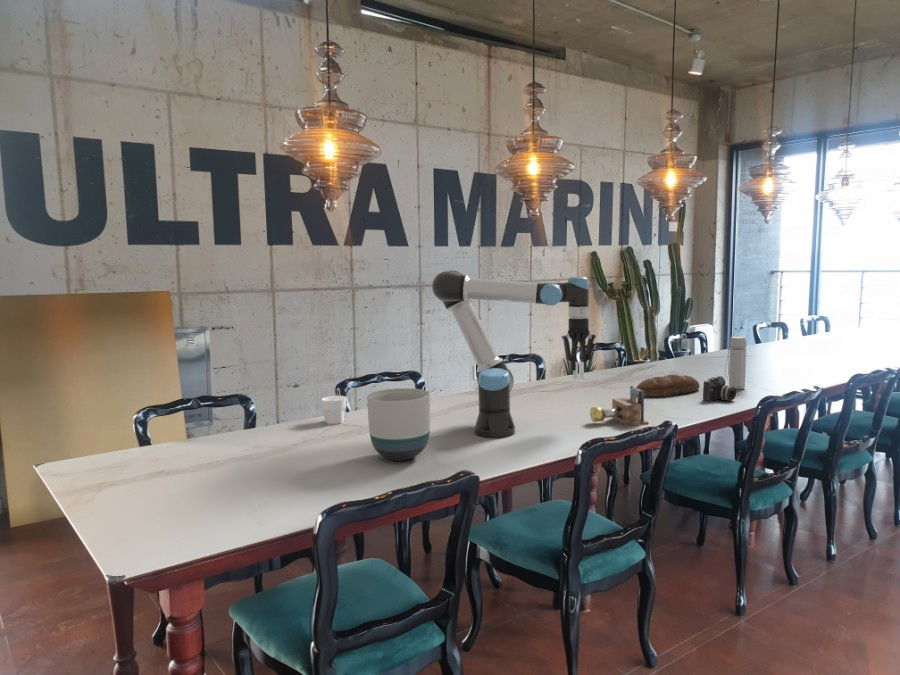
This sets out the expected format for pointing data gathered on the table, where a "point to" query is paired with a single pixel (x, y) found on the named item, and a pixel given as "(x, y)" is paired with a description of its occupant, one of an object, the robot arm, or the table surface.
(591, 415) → the pin
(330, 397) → the cup
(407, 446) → the planter
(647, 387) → the bread
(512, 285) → the robot arm
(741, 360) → the water bottle
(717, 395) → the camera
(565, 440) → the table surface
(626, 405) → the block
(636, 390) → the keeper
